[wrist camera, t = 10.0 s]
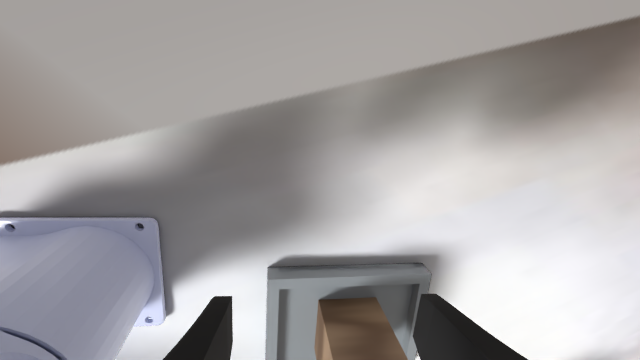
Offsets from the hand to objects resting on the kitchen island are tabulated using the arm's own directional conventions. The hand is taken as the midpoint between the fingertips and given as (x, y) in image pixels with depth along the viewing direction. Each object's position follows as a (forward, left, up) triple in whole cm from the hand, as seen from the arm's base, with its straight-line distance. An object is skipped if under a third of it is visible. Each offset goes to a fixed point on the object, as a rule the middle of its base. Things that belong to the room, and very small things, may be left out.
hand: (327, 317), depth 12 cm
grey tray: (+4, -9, -10) cm, 15 cm away
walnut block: (+4, -9, -10) cm, 14 cm away
